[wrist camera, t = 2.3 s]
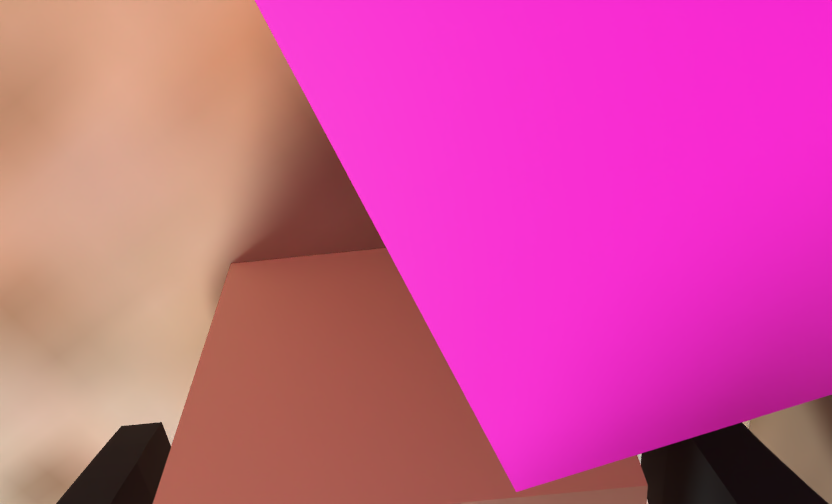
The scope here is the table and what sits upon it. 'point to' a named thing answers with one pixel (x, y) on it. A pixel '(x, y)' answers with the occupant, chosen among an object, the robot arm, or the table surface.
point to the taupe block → (802, 441)
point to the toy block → (592, 204)
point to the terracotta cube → (342, 401)
